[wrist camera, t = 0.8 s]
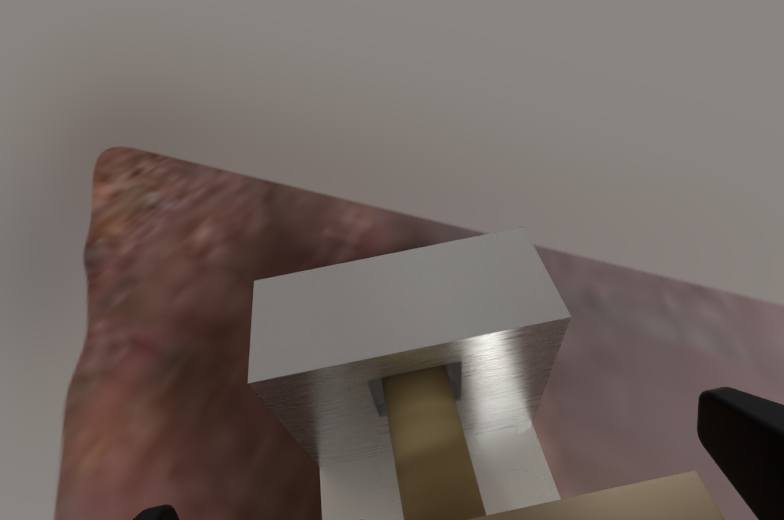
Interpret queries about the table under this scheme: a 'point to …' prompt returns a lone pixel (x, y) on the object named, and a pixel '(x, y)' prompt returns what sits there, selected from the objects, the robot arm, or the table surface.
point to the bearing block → (412, 363)
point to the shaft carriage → (458, 480)
